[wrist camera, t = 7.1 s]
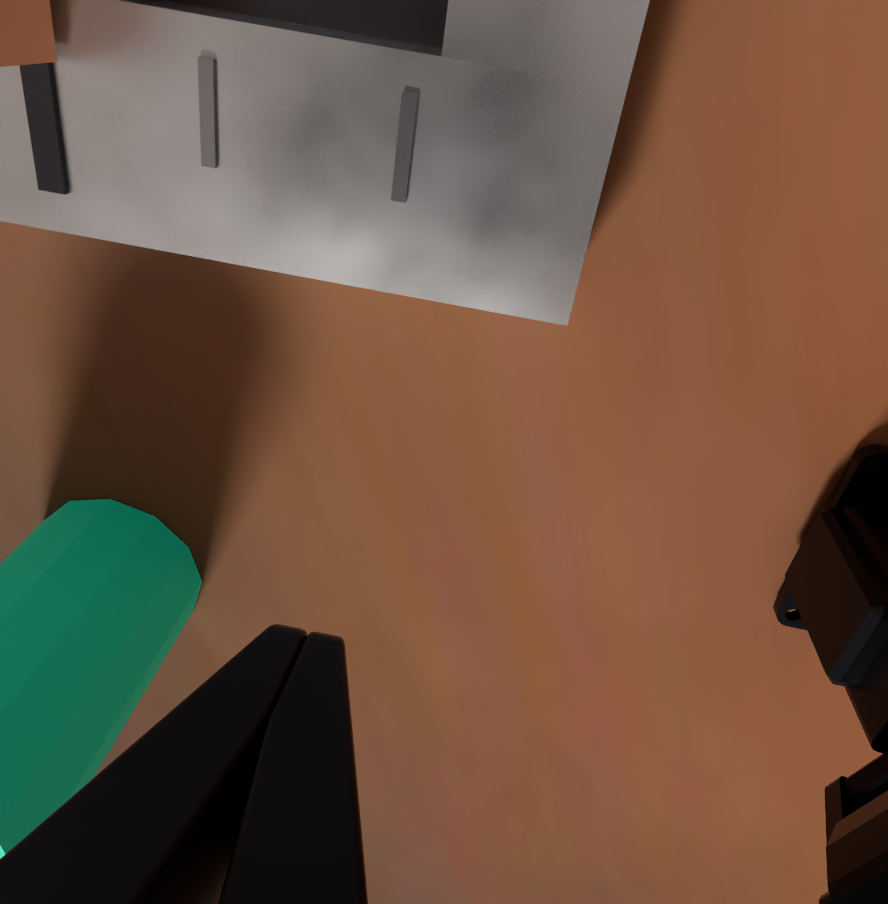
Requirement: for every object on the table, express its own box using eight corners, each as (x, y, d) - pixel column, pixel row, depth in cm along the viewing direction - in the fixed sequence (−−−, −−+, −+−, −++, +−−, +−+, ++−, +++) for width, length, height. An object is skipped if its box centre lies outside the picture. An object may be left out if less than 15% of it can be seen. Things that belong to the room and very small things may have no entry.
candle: (24, 483, 24) (-360, 824, 14) (197, 514, 24) (-65, 885, 14) (53, 611, 27) (-243, 966, 17) (206, 640, 27) (-2, 1017, 17)
